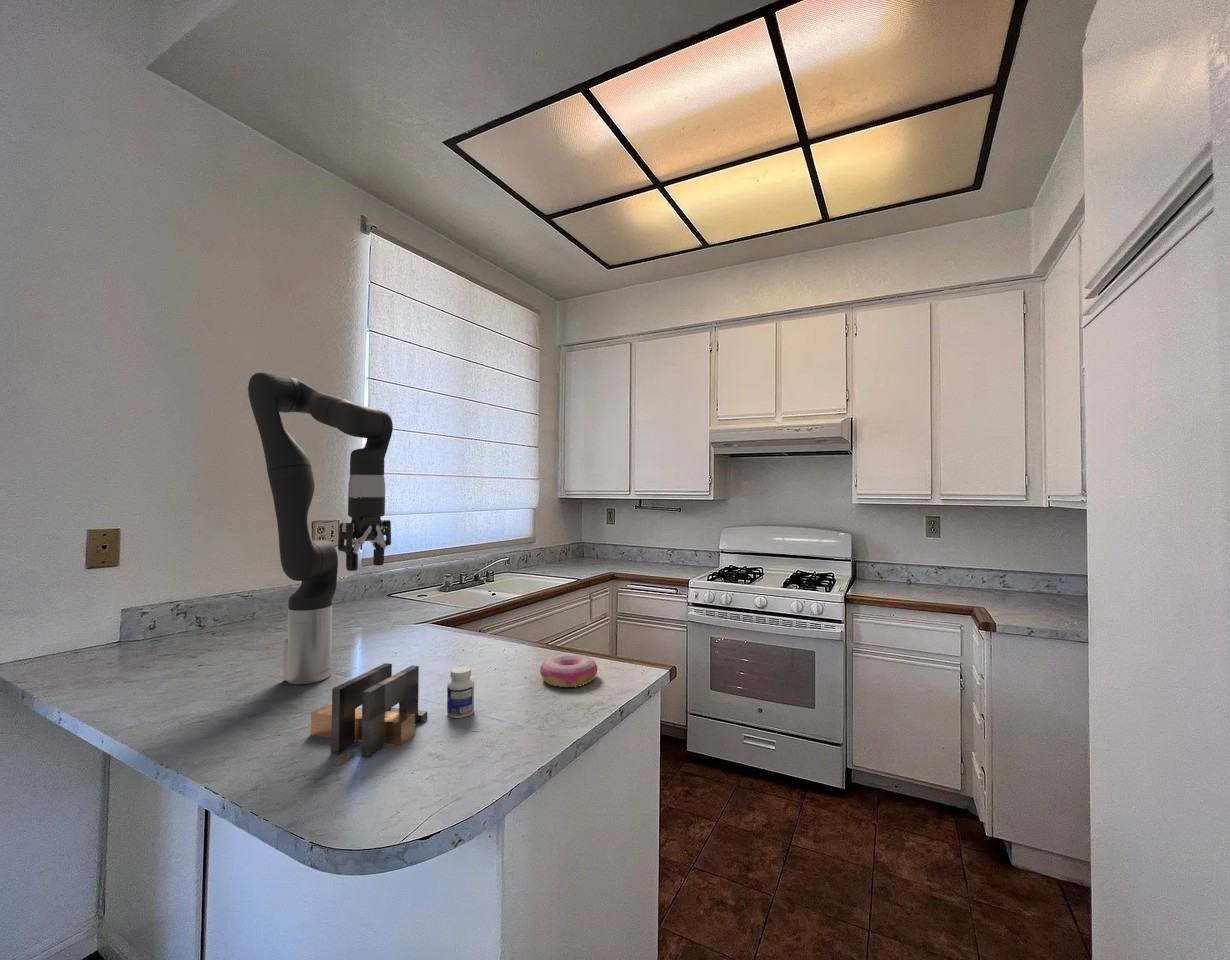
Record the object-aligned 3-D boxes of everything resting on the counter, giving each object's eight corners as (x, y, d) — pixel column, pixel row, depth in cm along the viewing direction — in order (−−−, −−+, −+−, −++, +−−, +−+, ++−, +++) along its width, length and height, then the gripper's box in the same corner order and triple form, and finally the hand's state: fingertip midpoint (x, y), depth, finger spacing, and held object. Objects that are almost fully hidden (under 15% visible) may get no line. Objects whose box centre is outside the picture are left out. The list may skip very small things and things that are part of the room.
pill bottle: (450, 708, 108) (450, 665, 109) (476, 707, 109) (476, 664, 109) (444, 719, 103) (444, 674, 103) (471, 718, 104) (471, 673, 104)
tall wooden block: (310, 734, 96) (311, 712, 97) (327, 725, 100) (327, 704, 101) (401, 746, 92) (401, 723, 92) (414, 736, 96) (415, 713, 96)
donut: (529, 685, 122) (529, 663, 122) (559, 668, 134) (559, 648, 135) (579, 694, 117) (579, 672, 117) (605, 676, 129) (605, 655, 129)
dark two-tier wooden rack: (313, 761, 87) (314, 694, 87) (387, 714, 105) (388, 659, 106) (360, 768, 85) (361, 699, 85) (427, 719, 103) (428, 663, 104)
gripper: (373, 495, 125) (372, 563, 124) (328, 495, 111) (327, 571, 110) (401, 495, 123) (400, 564, 123) (359, 495, 109) (357, 573, 109)
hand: (365, 567), depth 117 cm, fingers open, 8 cm apart
